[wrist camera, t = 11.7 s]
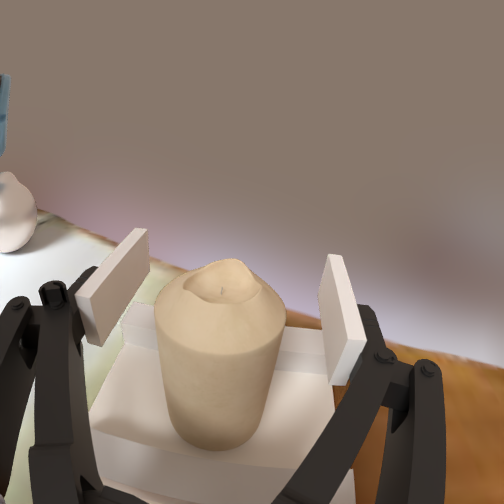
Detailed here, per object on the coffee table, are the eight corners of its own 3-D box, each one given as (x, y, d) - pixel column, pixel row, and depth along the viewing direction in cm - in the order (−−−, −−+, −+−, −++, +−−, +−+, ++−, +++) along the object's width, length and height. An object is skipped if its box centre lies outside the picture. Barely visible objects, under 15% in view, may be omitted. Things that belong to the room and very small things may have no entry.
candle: (194, 367, 20) (194, 232, 15) (272, 396, 19) (306, 263, 14) (152, 427, 15) (121, 291, 11) (240, 466, 14) (268, 345, 9)
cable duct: (68, 474, 12) (49, 453, 11) (137, 330, 24) (133, 301, 22) (335, 523, 12) (356, 511, 10) (324, 359, 23) (334, 331, 22)
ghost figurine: (36, 226, 37) (28, 158, 33) (48, 252, 32) (35, 171, 27) (-17, 242, 32) (-30, 173, 27) (-16, 274, 26) (-37, 191, 21)
